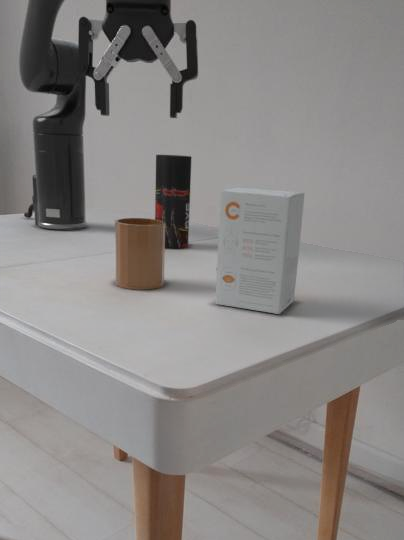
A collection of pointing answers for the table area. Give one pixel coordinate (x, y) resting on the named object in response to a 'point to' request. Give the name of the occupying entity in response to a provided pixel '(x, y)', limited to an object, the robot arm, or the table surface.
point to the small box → (258, 248)
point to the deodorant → (173, 198)
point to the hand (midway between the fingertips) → (139, 116)
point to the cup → (139, 253)
